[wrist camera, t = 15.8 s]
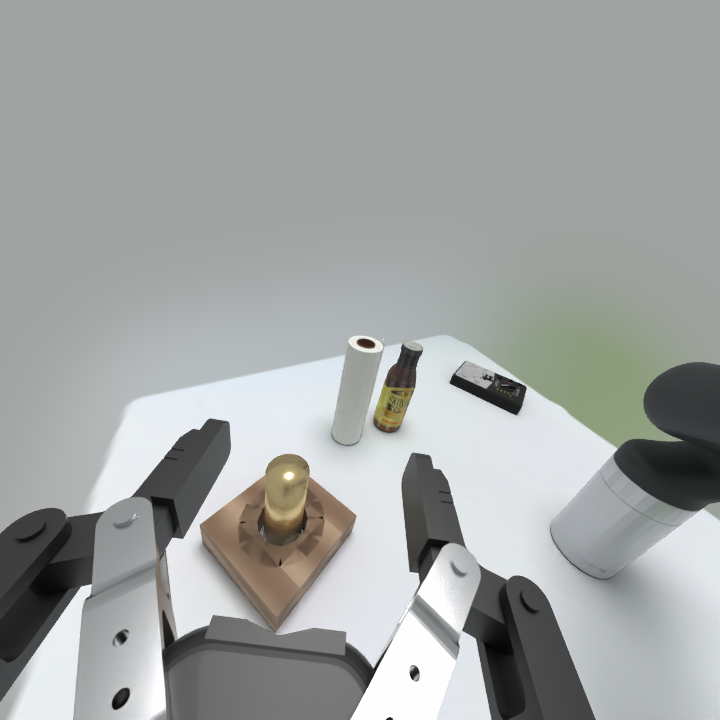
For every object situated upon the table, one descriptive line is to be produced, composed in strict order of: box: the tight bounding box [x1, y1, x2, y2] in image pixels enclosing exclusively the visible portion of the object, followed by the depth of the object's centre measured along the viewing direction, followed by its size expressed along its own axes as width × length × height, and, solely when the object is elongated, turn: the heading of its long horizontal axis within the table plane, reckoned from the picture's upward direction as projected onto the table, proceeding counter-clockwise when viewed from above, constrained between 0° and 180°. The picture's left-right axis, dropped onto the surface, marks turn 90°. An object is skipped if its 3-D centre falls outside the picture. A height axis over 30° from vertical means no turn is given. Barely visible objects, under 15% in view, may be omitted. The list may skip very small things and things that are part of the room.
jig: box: [200, 475, 357, 632], centre depth 38 cm, size 14×14×4 cm
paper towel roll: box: [332, 336, 384, 445], centre depth 52 cm, size 7×6×21 cm
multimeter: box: [450, 361, 527, 415], centre depth 83 cm, size 13×19×5 cm
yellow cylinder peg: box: [264, 454, 309, 546], centre depth 35 cm, size 5×5×14 cm
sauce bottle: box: [374, 341, 423, 432], centre depth 58 cm, size 7×6×20 cm
